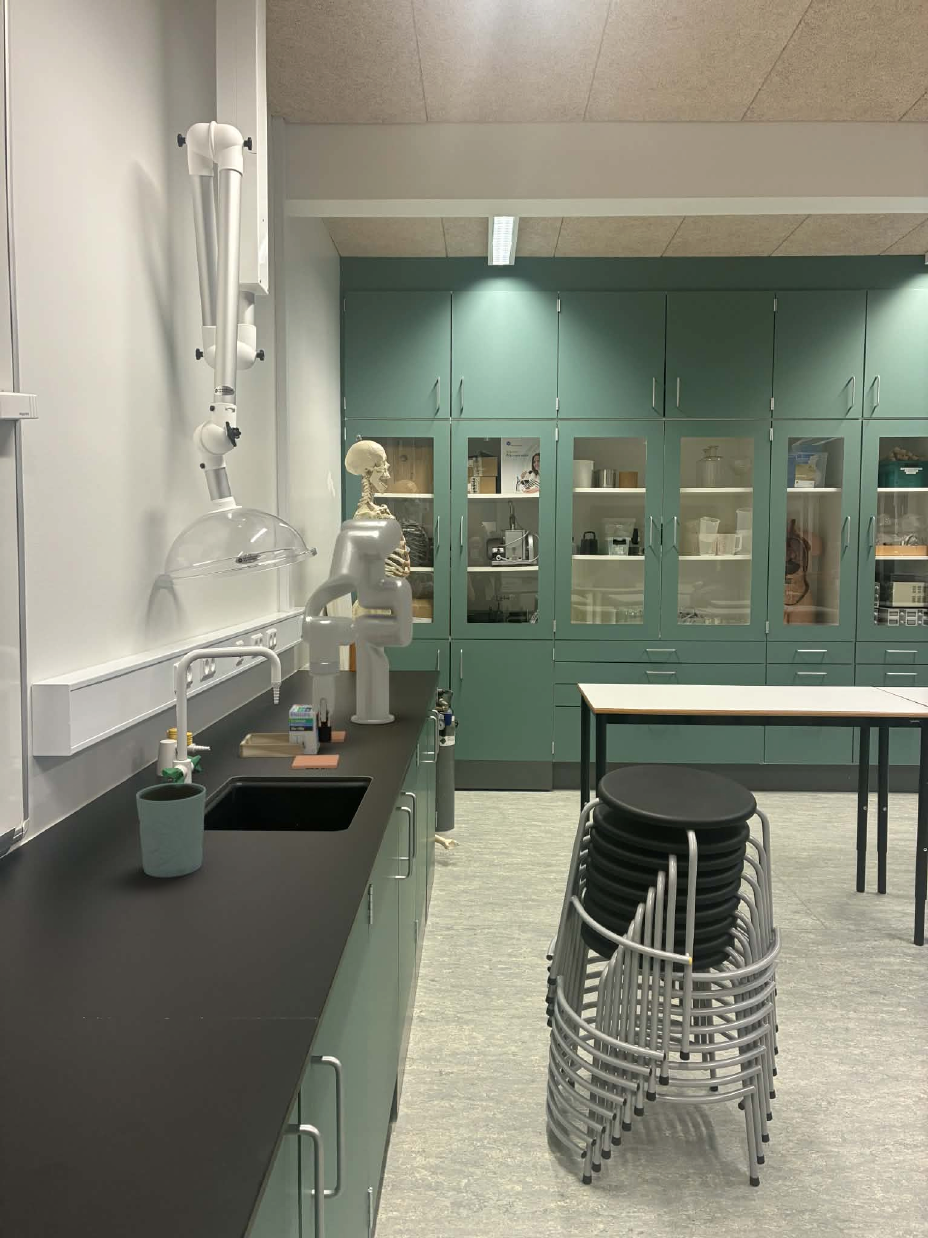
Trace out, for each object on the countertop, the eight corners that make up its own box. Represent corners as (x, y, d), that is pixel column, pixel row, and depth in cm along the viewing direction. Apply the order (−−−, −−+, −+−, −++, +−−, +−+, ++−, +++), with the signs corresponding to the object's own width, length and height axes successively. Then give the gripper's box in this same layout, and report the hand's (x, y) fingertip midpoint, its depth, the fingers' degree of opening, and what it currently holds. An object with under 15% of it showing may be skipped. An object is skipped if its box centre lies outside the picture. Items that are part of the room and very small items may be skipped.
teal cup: (204, 853, 137) (203, 780, 136) (209, 875, 128) (208, 796, 127) (137, 861, 133) (135, 786, 133) (137, 884, 124) (135, 803, 123)
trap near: (296, 758, 202) (296, 755, 202) (338, 758, 203) (338, 755, 203) (291, 769, 192) (291, 765, 192) (336, 768, 193) (336, 765, 193)
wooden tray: (248, 745, 217) (248, 733, 216) (307, 744, 218) (307, 733, 218) (239, 757, 203) (239, 745, 203) (301, 756, 204) (301, 744, 204)
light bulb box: (316, 755, 206) (316, 711, 205) (288, 755, 205) (288, 711, 205) (320, 745, 217) (320, 703, 216) (293, 746, 216) (293, 704, 215)
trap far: (308, 734, 230) (308, 731, 230) (345, 734, 231) (345, 731, 231) (304, 742, 220) (304, 739, 220) (343, 742, 221) (343, 739, 221)
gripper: (311, 665, 217) (312, 736, 218) (306, 673, 202) (307, 748, 204) (341, 665, 218) (341, 735, 219) (338, 672, 203) (338, 748, 204)
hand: (325, 741), depth 211 cm, fingers closed
